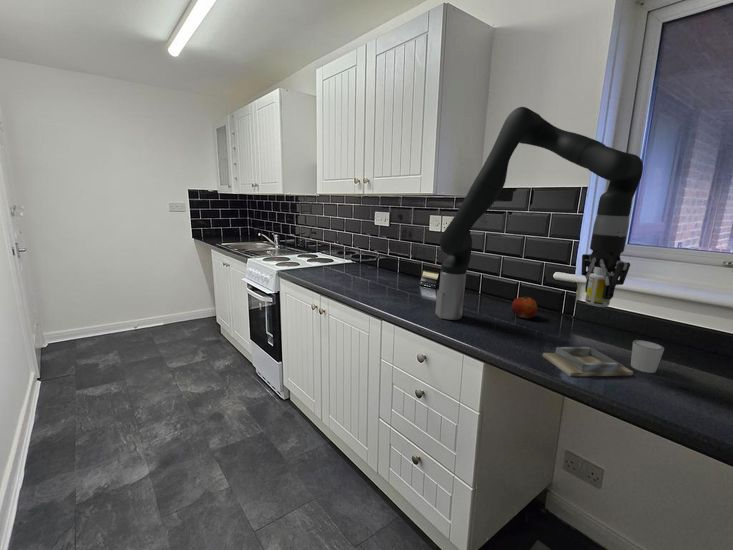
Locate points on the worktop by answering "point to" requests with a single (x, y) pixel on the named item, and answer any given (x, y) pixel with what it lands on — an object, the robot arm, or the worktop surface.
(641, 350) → the shot glass
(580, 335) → the worktop surface
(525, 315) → the tomato
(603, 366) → the holder
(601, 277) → the supplement bottle
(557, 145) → the robot arm
